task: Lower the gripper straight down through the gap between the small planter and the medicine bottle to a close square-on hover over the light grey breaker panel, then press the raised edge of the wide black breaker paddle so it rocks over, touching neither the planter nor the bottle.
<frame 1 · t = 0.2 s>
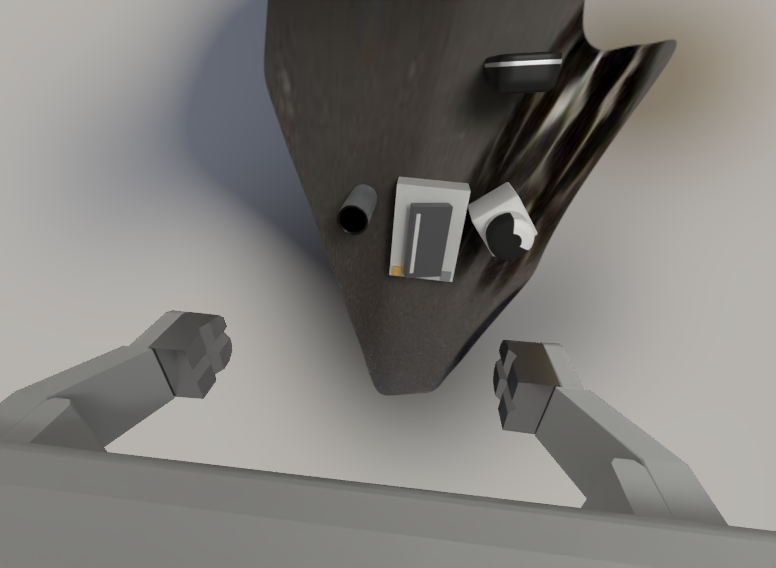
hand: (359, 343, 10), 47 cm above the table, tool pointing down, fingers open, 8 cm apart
panel: (426, 226, 58), on the table
medicine bottle: (496, 210, 56), on the table
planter: (364, 197, 57), on the table
battery charger: (508, 73, 46), on the table
paddle: (426, 241, 53), point 6 cm above the table, hinge at -18.0°
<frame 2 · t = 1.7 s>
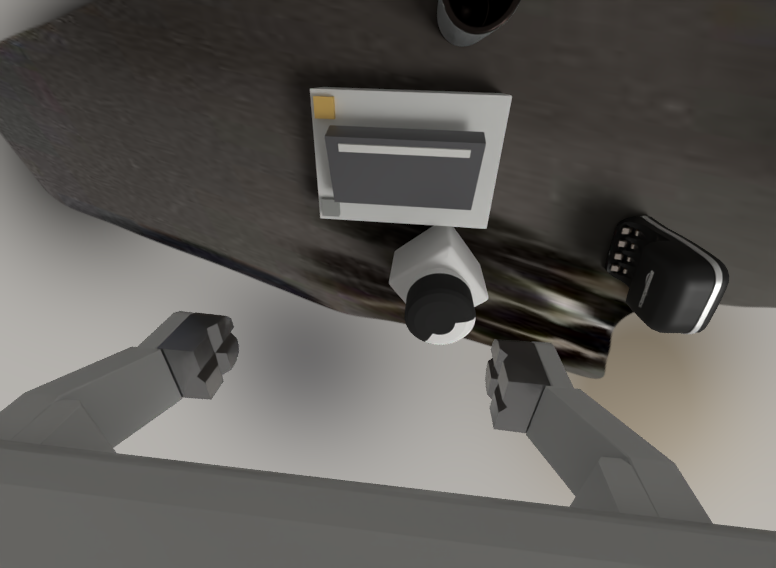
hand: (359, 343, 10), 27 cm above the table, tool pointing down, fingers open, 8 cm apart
panel: (407, 154, 33), on the table
medicine bottle: (436, 256, 39), on the table
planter: (465, 12, 27), on the table
battery charger: (620, 244, 36), on the table
paddle: (403, 170, 28), point 6 cm above the table, hinge at -18.0°
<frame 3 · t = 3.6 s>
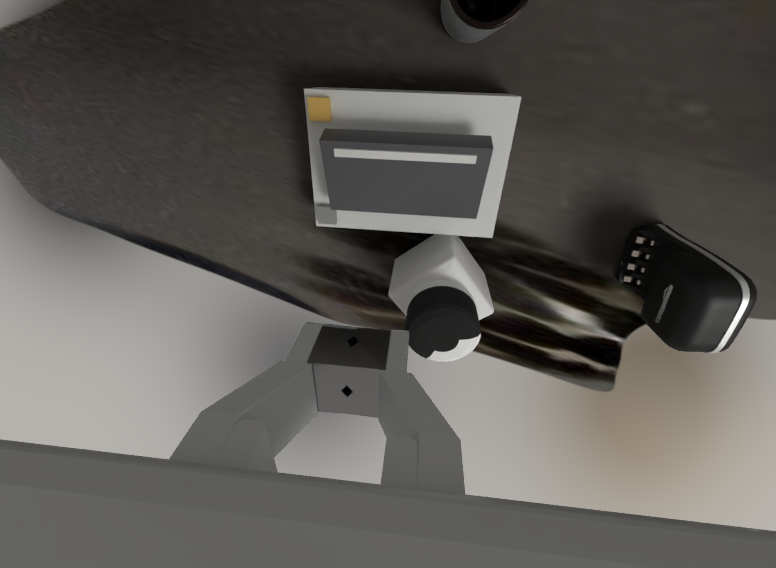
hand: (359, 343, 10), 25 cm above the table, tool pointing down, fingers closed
panel: (408, 159, 31), on the table
medicine bottle: (439, 265, 37), on the table
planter: (471, 7, 25), on the table
battery charger: (633, 253, 34), on the table
paddle: (404, 176, 26), point 6 cm above the table, hinge at -18.0°
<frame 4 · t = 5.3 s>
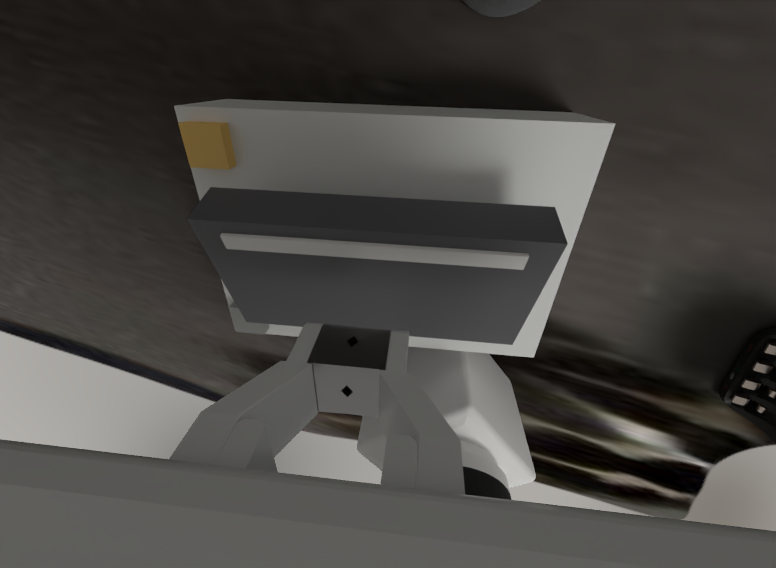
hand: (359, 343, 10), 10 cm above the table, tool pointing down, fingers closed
panel: (390, 218, 19), on the table
medicine bottle: (441, 366, 24), on the table
battery charger: (749, 360, 21), on the table
paddle: (375, 275, 13), point 6 cm above the table, hinge at -18.0°
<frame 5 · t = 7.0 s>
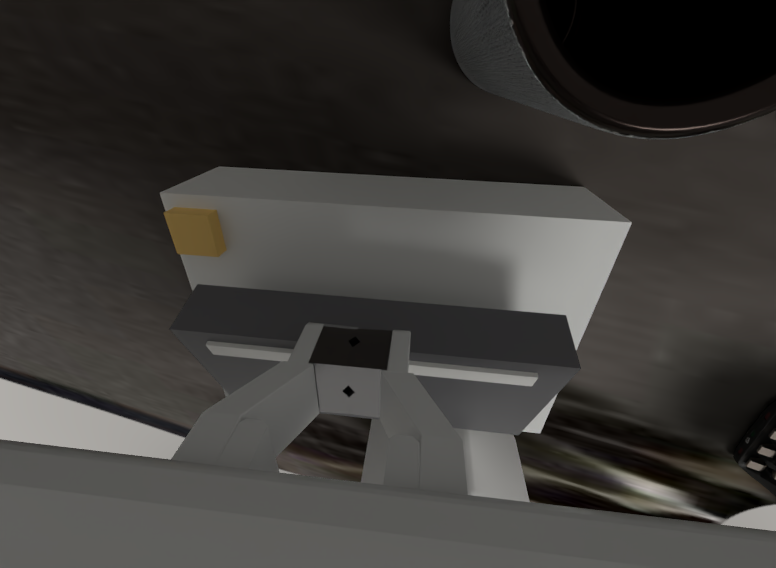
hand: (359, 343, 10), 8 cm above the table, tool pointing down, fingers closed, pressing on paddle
panel: (390, 282, 18), on the table
medicine bottle: (443, 420, 23), on the table
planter: (515, 19, 12), on the table
battery charger: (765, 424, 20), on the table
paddle: (373, 368, 13), point 6 cm above the table, hinge at -17.6°, touching gripper
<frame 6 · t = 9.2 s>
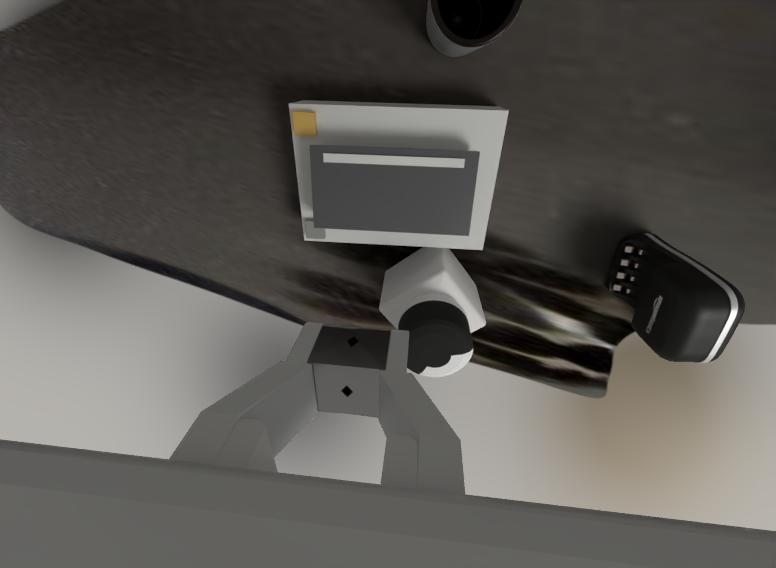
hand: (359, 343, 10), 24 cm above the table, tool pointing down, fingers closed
panel: (396, 171, 31), on the table
medicine bottle: (430, 276, 37), on the table
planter: (456, 20, 25), on the table
battery charger: (622, 262, 34), on the table
paddle: (392, 190, 26), point 6 cm above the table, hinge at 8.2°
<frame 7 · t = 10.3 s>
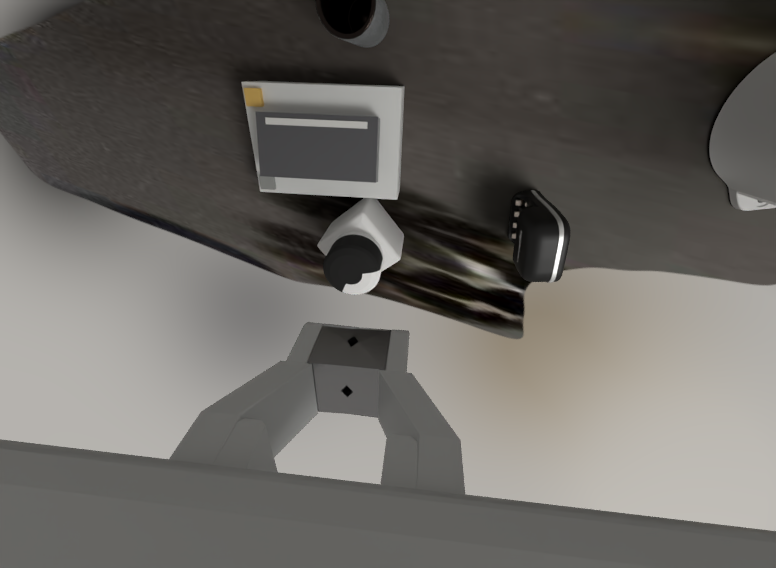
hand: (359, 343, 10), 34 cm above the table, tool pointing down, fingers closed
panel: (333, 138, 39), on the table
medicine bottle: (368, 228, 45), on the table
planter: (367, 20, 33), on the table
battery charger: (518, 215, 42), on the table
paddle: (319, 148, 34), point 6 cm above the table, hinge at 12.8°
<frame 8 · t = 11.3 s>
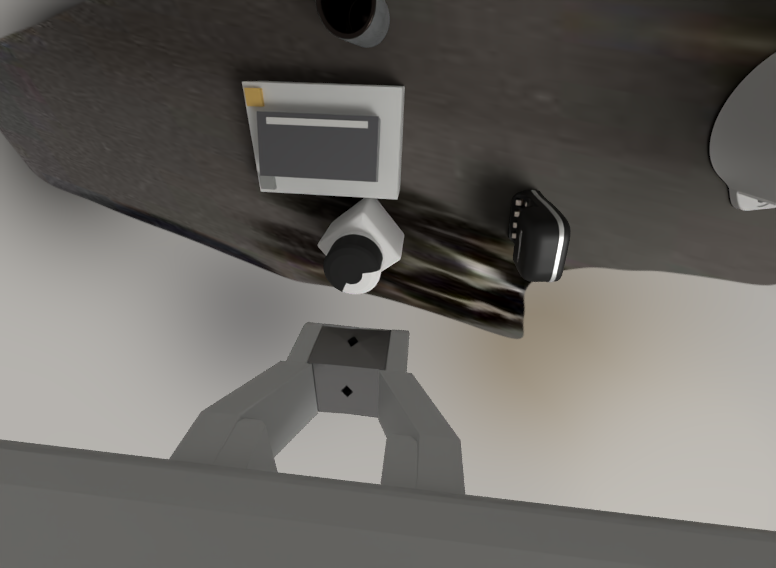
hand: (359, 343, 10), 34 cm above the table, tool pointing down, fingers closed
panel: (333, 138, 39), on the table
medicine bottle: (368, 228, 45), on the table
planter: (367, 20, 33), on the table
battery charger: (519, 215, 42), on the table
paddle: (319, 147, 34), point 6 cm above the table, hinge at 15.4°
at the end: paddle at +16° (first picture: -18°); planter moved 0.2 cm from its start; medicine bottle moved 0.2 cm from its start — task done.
